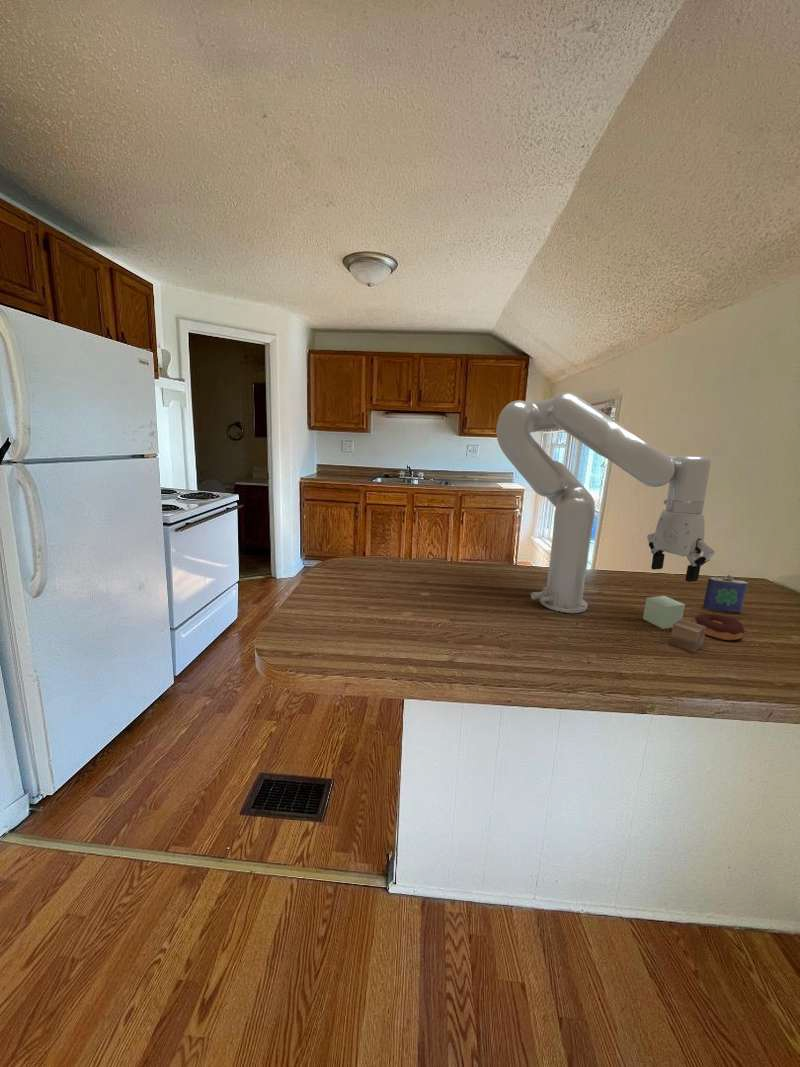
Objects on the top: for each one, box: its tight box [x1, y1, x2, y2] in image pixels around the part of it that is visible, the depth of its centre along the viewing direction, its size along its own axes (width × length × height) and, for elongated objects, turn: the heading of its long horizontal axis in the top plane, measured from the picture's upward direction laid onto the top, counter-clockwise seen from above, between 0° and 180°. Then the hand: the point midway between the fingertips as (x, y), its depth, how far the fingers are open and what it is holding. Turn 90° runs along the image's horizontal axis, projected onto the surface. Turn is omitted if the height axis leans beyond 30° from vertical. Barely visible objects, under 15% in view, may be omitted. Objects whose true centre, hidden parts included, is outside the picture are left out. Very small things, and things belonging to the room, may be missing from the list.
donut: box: [693, 612, 744, 641], centre depth 105 cm, size 10×10×4 cm
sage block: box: [642, 595, 686, 630], centre depth 110 cm, size 6×6×6 cm
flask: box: [702, 573, 749, 615], centre depth 118 cm, size 9×3×11 cm, turn 74°
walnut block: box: [669, 618, 706, 653], centre depth 98 cm, size 5×5×5 cm
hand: (673, 574), depth 107 cm, fingers open, 9 cm apart
